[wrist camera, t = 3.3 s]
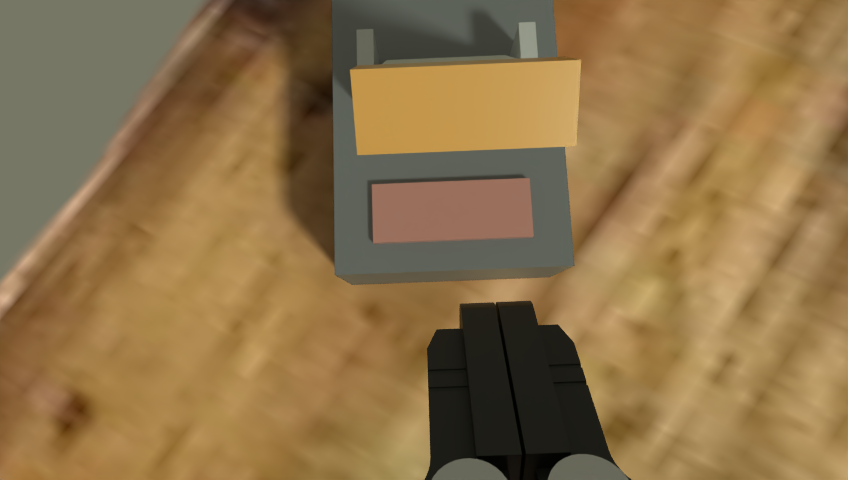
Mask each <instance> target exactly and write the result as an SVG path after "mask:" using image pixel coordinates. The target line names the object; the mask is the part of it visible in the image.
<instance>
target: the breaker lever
mask: <svg viewBox="0 0 848 480" xmlns="http://www.w3.org/2000/svg"><path fill="white" fill-rule="evenodd" d="M580 71H581V60H579V59H574V58H569V57H543V58H520V59H517V58H513V57H510V56H507V55H494V56H471V57H447V58H424V59H400V60H386V61H385V62H384V63H383V64H379V65H358V66H356V67H354V68H352V69H350V75H351V87H352V99H353V111H354V123H355V135H356V147H357V155H374V154H398V153H423V152H447V151H471V150H496V149H520V148H544V147H569V146H576V142H577V124H578V106H579V89H580Z"/></svg>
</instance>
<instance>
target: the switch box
mask: <svg viewBox="0 0 848 480" xmlns="http://www.w3.org/2000/svg"><path fill="white" fill-rule="evenodd" d="M494 55H507V56H510V57H513V58H517V59H520V58H543V57H557V45H556V33H555V21H554V9H553V0H332V64H333V153H334V242H335V275H336V276H337V277H339V278H341V279H343V280H345V281H346V282H348V283H350V284H352V285H359V284H385V283H411V282H437V281H463V280H489V279H515V278H541V277H551V276H553V275H555V274H558V273H560V272H562V271H564V270H566V269H568V268H571V267H573V266H574V254H573V242H572V229H571V217H570V205H569V193H568V180H567V168H566V156H565V147H544V148H520V149H496V150H471V151H447V152H423V153H398V154H374V155H357V147H356V135H355V123H354V111H353V99H352V87H351V75H350V69H352V68H354V67H356V66H358V65H379V64H383V63H384V62H385V61H386V60H400V59H424V58H447V57H471V56H494Z"/></svg>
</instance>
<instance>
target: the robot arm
mask: <svg viewBox="0 0 848 480" xmlns="http://www.w3.org/2000/svg"><path fill="white" fill-rule="evenodd" d="M427 356H428V388H429V421H430V454H431V458H430V467H429V471H428V473H427V476H426V478H425V480H631V479H630V478H629V477H627V476H626V475H625V474H624V473H623V472H622V471H621V470H620V469H619V467H618V466H617V465H616V463H615V462H614V460H613V458H612V457H611V454H610V452H609V450H608V446H607V443H606V440H605V437H604V434H603V431H602V428H601V425H600V422H599V419H598V416H597V413H596V409H595V406H594V403H593V400H592V397H591V394H590V391H589V388H588V385H586V379H585V376H584V372H583V369H582V368H581V363H580V360H579V357H578V354H577V351H576V348H575V345H574V342H573V341H572V340H571V339H570V338H569V337H568V335H567V334H566V333H565V332H564V331H563V330H562V329H561V328H560V326H559V325H538V323H537V319H536V315H535V311H534V308H533V304H532V302H531V301H515V302H496V305H495V304H494V303H469V304H460V329H439V330H436V332H435V334H434V336H433V338H432V340H431V342H430V344H429V346H428V348H427Z"/></svg>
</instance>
